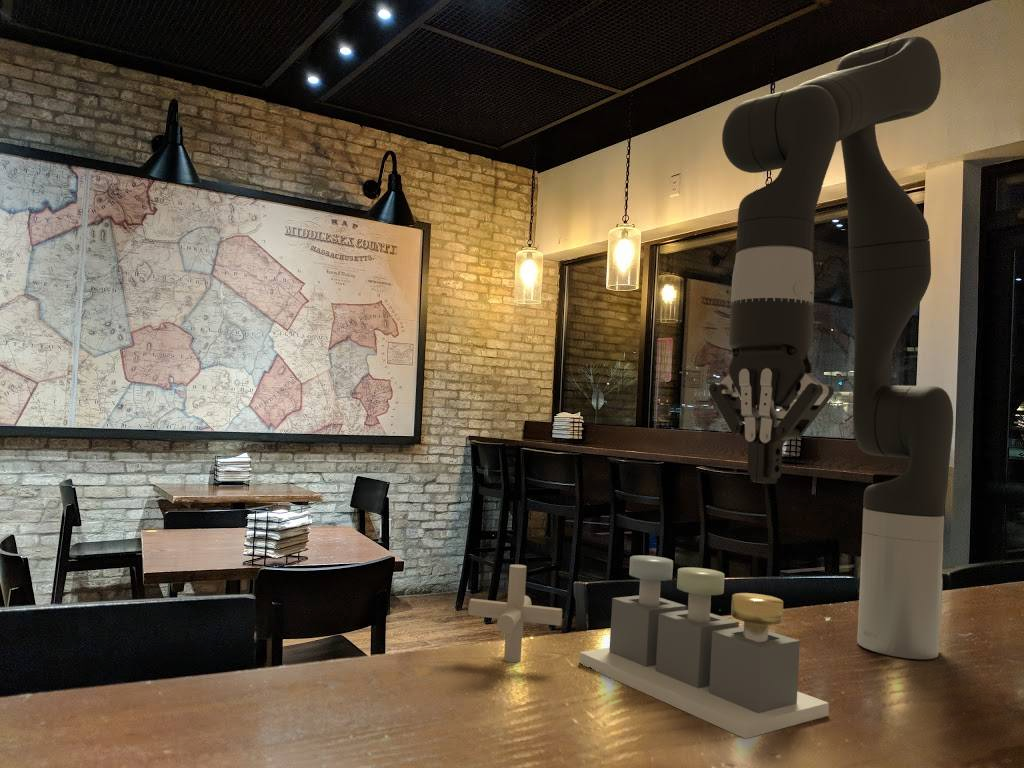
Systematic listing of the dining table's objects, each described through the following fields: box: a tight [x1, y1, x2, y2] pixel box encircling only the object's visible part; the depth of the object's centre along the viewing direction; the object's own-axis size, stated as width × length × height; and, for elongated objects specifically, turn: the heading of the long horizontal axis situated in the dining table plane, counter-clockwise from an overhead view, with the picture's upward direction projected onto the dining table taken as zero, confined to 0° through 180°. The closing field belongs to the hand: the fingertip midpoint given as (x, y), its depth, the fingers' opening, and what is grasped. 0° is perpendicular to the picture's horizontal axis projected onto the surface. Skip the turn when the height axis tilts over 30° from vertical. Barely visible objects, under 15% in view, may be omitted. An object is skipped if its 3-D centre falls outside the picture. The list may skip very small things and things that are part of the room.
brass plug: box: [730, 592, 784, 642], centre depth 74 cm, size 5×5×8 cm
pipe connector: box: [467, 564, 563, 663], centre depth 86 cm, size 10×10×10 cm
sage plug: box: [676, 566, 725, 623], centre depth 80 cm, size 5×5×8 cm
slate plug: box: [628, 554, 674, 607], centre depth 86 cm, size 5×5×8 cm
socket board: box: [578, 595, 830, 740], centre depth 80 cm, size 12×22×7 cm, turn 35°
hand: (763, 482), depth 75 cm, fingers closed
